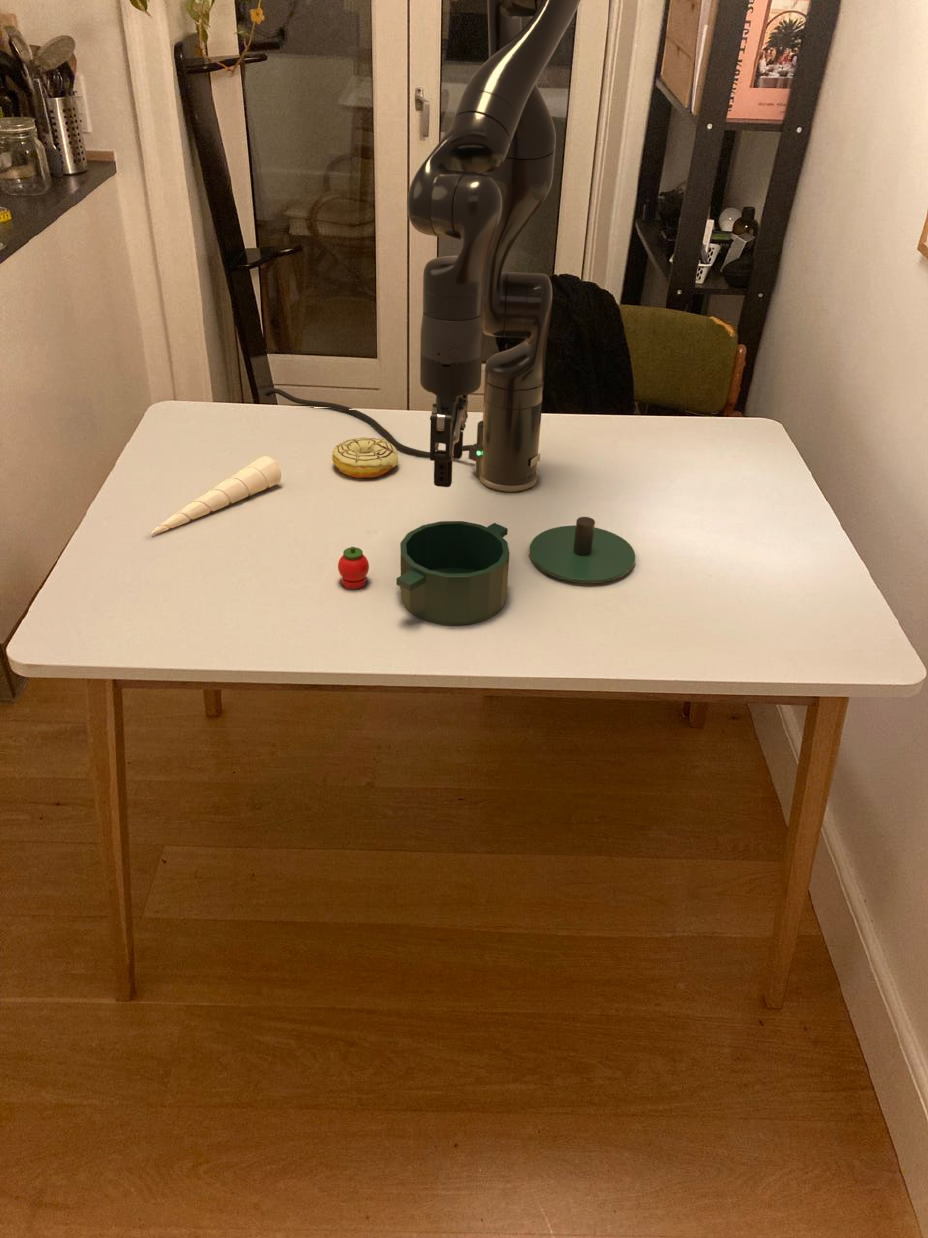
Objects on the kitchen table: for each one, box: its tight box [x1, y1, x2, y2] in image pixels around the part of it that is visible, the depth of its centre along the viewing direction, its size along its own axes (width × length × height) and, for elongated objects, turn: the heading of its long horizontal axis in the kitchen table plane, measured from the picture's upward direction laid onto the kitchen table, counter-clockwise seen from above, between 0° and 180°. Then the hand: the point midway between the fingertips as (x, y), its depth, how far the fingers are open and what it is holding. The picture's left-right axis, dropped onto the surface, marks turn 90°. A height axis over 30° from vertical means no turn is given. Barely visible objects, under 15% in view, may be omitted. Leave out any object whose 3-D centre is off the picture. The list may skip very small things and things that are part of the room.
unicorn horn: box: [150, 455, 282, 535], centre depth 150 cm, size 5×24×5 cm, turn 137°
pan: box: [396, 520, 510, 626], centre depth 131 cm, size 14×20×8 cm
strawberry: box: [337, 546, 370, 590], centre depth 133 cm, size 4×4×6 cm
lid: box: [528, 516, 636, 584], centre depth 140 cm, size 15×15×6 cm
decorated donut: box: [331, 437, 399, 479], centre depth 163 cm, size 10×11×4 cm
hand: (448, 471), depth 128 cm, fingers open, 8 cm apart
